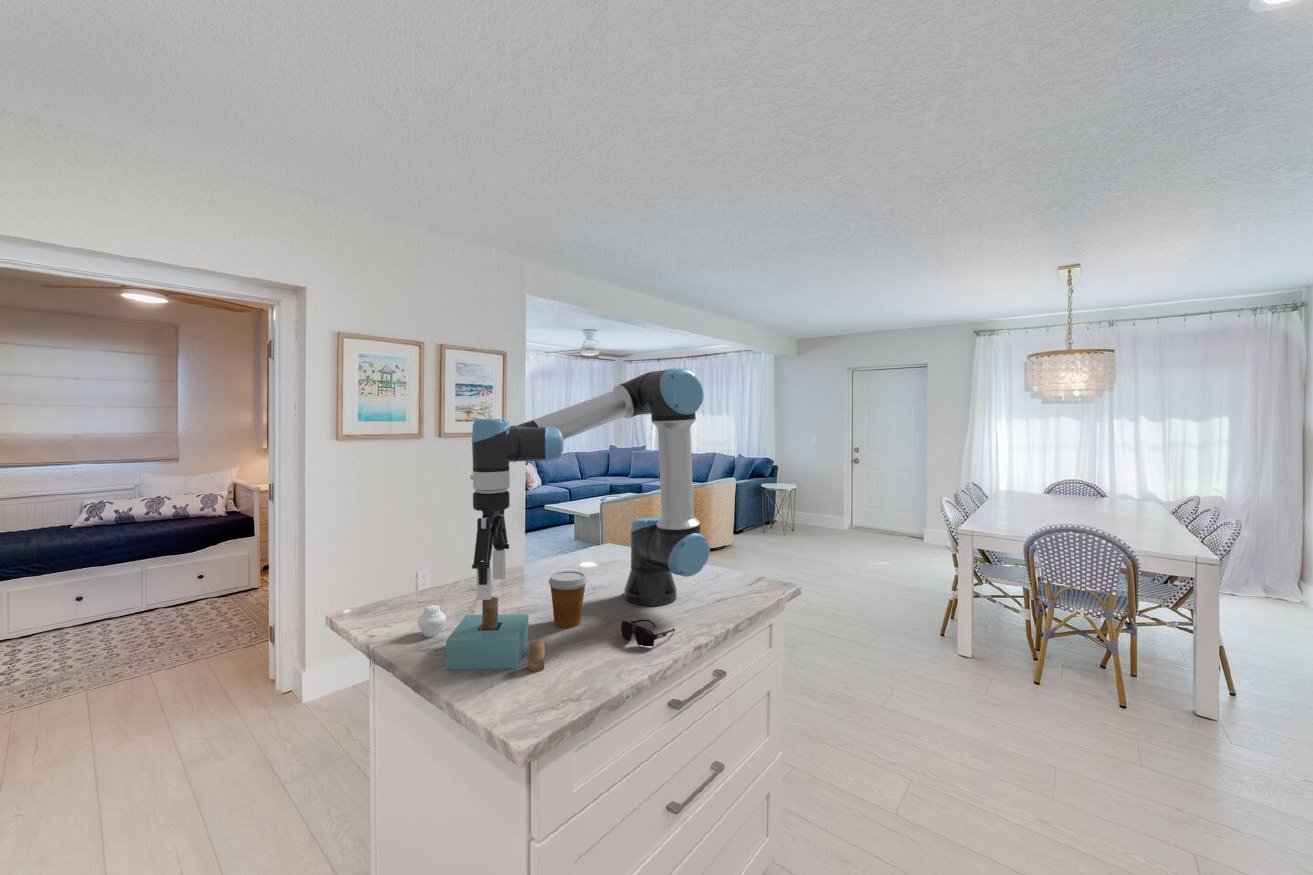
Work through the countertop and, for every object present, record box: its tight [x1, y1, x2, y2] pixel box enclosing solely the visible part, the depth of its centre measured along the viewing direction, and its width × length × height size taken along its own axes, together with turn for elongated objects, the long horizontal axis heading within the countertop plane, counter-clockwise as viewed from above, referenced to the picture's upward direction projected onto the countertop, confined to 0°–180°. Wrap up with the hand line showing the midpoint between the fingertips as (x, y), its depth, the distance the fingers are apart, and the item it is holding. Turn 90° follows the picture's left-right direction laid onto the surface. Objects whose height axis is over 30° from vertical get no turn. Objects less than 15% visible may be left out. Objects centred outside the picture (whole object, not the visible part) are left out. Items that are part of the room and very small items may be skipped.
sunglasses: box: [620, 619, 676, 648], centre depth 124 cm, size 10×12×5 cm
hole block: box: [445, 613, 530, 671], centre depth 114 cm, size 14×14×6 cm
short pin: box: [527, 640, 546, 673], centre depth 107 cm, size 3×3×5 cm
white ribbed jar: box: [417, 604, 447, 638], centre depth 123 cm, size 6×6×7 cm
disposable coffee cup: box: [548, 570, 588, 629], centre depth 132 cm, size 10×10×12 cm
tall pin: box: [481, 596, 499, 631], centre depth 113 cm, size 3×3×12 cm
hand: (492, 588), depth 113 cm, fingers open, 13 cm apart
